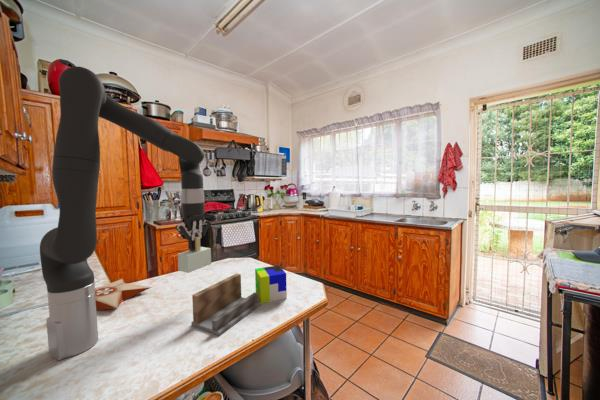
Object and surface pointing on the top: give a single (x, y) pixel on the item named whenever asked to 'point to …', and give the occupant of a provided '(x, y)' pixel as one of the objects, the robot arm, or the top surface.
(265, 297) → the puzzle toy
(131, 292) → the decorative star
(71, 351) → the robot arm
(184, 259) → the wide pale green cuboid
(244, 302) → the board
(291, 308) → the top surface
